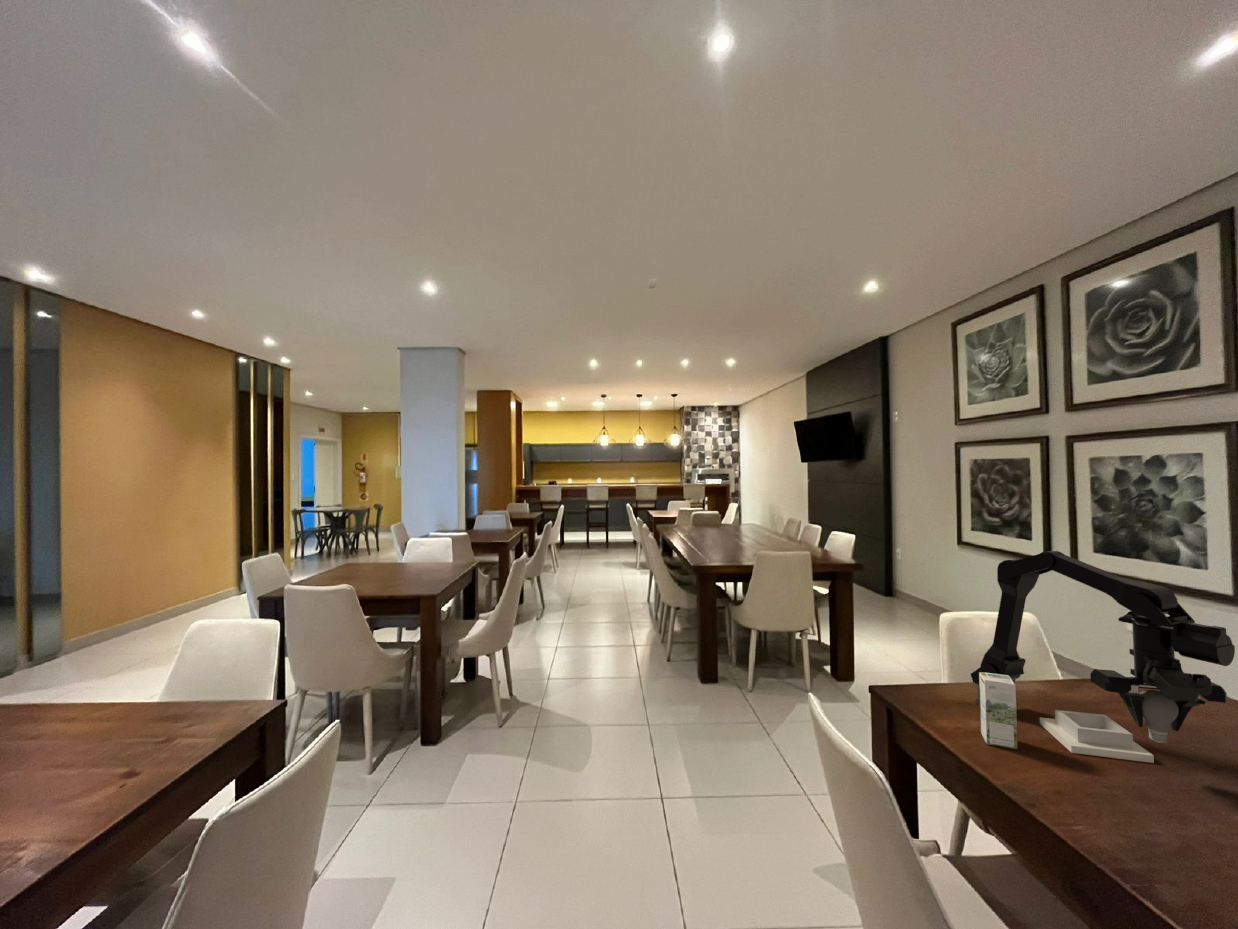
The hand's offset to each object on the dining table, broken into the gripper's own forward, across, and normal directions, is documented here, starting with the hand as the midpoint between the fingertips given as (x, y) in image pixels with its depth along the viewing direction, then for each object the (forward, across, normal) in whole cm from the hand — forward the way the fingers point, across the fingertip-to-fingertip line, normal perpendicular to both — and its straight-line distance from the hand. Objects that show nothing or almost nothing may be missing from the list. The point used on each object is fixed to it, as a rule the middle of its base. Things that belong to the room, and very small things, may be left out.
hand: (1157, 728), depth 101 cm
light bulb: (+3, 0, 0) cm, 3 cm away
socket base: (+9, -5, +12) cm, 16 cm away
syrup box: (+9, -25, +6) cm, 27 cm away
